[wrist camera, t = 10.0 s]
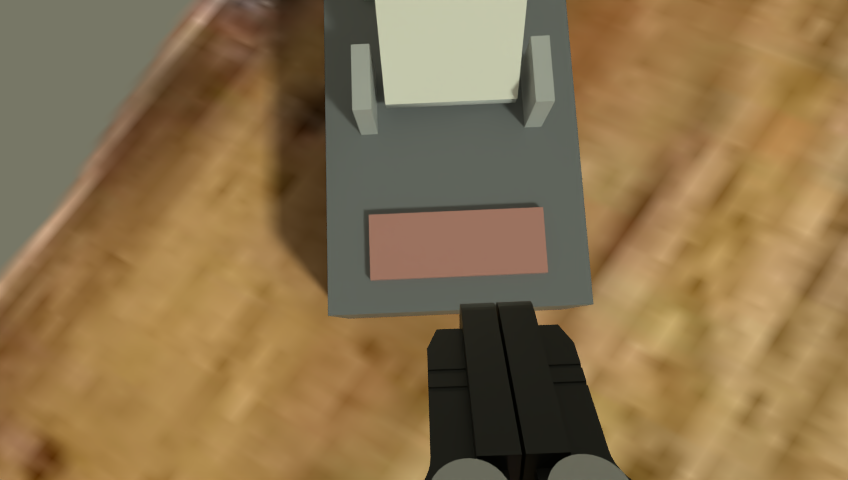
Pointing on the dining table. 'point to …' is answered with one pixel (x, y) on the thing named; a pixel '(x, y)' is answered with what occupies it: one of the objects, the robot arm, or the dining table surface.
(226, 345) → the dining table surface
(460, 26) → the lever
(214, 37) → the dining table surface
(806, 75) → the dining table surface
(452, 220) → the switch box
